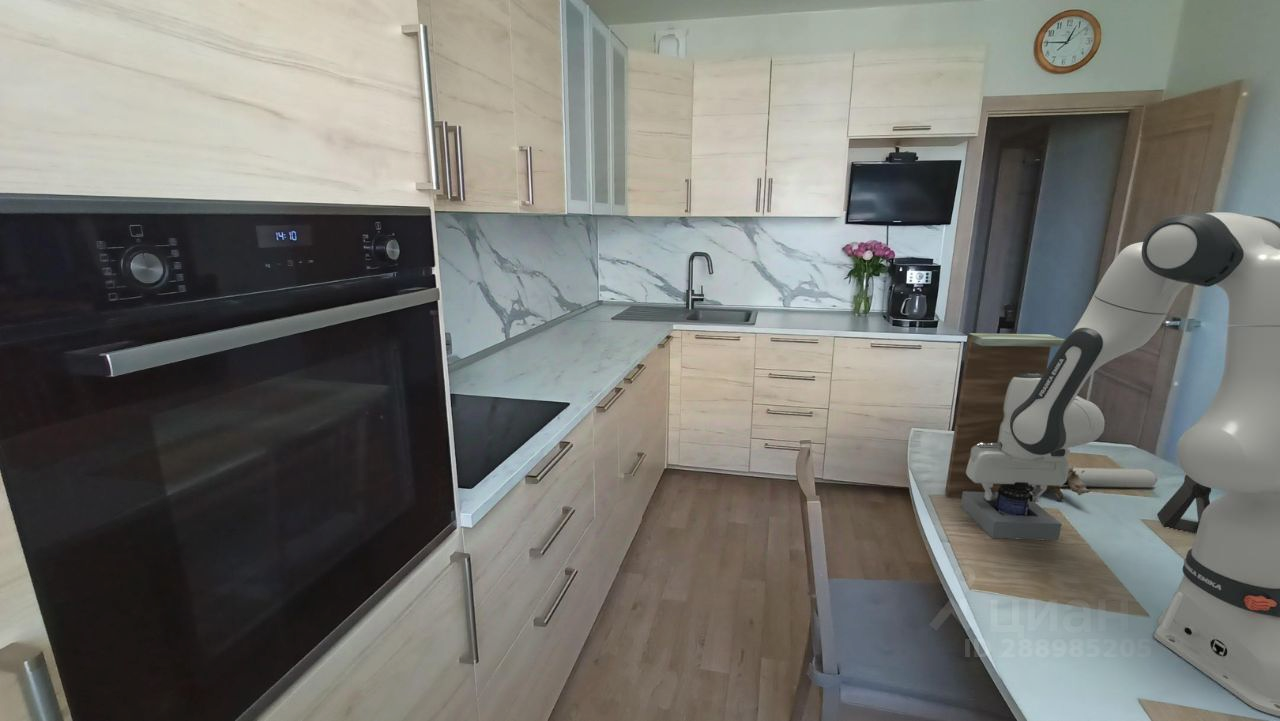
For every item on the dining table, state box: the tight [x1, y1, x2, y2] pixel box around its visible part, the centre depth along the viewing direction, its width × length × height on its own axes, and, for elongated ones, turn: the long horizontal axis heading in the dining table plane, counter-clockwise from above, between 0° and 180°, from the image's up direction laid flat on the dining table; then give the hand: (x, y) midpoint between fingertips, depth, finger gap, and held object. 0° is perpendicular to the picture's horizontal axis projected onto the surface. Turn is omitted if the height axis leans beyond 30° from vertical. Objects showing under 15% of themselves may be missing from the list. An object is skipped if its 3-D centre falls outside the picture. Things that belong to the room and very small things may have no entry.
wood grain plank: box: [944, 332, 1066, 499], centre depth 134 cm, size 6×18×42 cm, turn 87°
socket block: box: [960, 491, 1063, 541], centre depth 129 cm, size 14×14×4 cm
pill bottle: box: [995, 482, 1031, 516], centre depth 128 cm, size 6×6×11 cm
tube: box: [1059, 467, 1159, 489], centre depth 147 cm, size 5×5×25 cm
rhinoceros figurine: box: [1027, 464, 1093, 503], centre depth 142 cm, size 8×14×15 cm
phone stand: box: [1156, 474, 1212, 534], centre depth 127 cm, size 9×6×12 cm, turn 59°
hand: (1010, 500), depth 128 cm, fingers open, 8 cm apart
